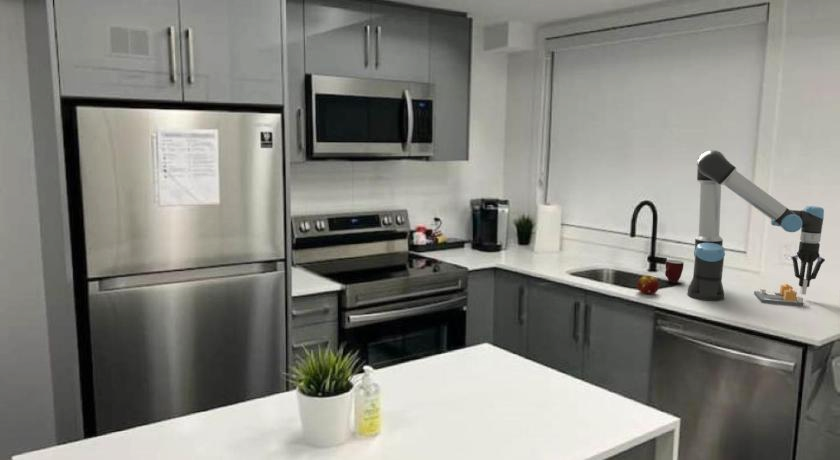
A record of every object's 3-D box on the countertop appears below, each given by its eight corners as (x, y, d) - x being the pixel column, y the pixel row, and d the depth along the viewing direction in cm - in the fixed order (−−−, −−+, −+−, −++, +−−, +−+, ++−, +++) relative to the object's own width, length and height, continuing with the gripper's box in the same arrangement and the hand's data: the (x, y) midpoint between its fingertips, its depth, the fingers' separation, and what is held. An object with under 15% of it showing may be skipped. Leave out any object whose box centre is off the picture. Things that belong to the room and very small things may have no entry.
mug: (675, 285, 290) (677, 265, 289) (658, 281, 296) (660, 262, 294) (684, 281, 297) (686, 261, 296) (668, 278, 303) (670, 259, 301)
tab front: (785, 300, 262) (786, 289, 261) (783, 298, 264) (784, 287, 264) (795, 301, 260) (797, 290, 260) (793, 299, 263) (794, 288, 262)
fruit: (649, 297, 270) (650, 280, 268) (632, 292, 277) (633, 275, 276) (662, 294, 275) (663, 277, 273) (645, 289, 282) (646, 272, 281)
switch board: (761, 302, 264) (762, 295, 263) (754, 294, 277) (754, 286, 276) (803, 306, 259) (804, 298, 258) (793, 297, 272) (794, 290, 272)
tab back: (781, 295, 270) (782, 284, 269) (779, 293, 273) (780, 283, 272) (791, 295, 269) (792, 285, 268) (789, 294, 272) (790, 283, 271)
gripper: (795, 242, 263) (788, 294, 267) (829, 244, 259) (822, 297, 263) (790, 239, 270) (784, 290, 274) (823, 241, 266) (816, 292, 270)
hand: (802, 293), depth 269 cm, fingers closed
